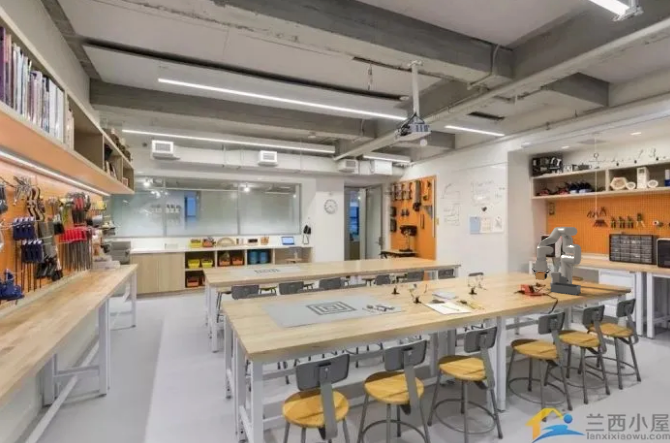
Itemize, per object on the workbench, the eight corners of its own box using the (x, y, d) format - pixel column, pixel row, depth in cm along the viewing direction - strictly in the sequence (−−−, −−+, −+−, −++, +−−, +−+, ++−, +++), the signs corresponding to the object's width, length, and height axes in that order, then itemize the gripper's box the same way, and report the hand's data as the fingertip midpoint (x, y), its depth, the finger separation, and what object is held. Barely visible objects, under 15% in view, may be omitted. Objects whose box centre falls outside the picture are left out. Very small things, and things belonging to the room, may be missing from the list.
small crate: (538, 277, 342) (538, 271, 341) (546, 278, 337) (546, 272, 337) (535, 279, 334) (535, 272, 334) (543, 280, 330) (543, 273, 329)
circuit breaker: (568, 289, 333) (568, 273, 333) (551, 287, 340) (551, 272, 339) (567, 287, 340) (567, 272, 340) (550, 286, 346) (550, 271, 346)
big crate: (555, 289, 333) (555, 282, 333) (580, 292, 319) (580, 285, 319) (550, 292, 320) (550, 284, 320) (576, 295, 306) (576, 287, 306)
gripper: (552, 259, 332) (552, 278, 332) (532, 258, 344) (532, 276, 344) (550, 260, 326) (550, 279, 327) (530, 258, 338) (530, 277, 339)
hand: (541, 277), depth 336 cm, fingers closed on small crate, 7 cm apart
